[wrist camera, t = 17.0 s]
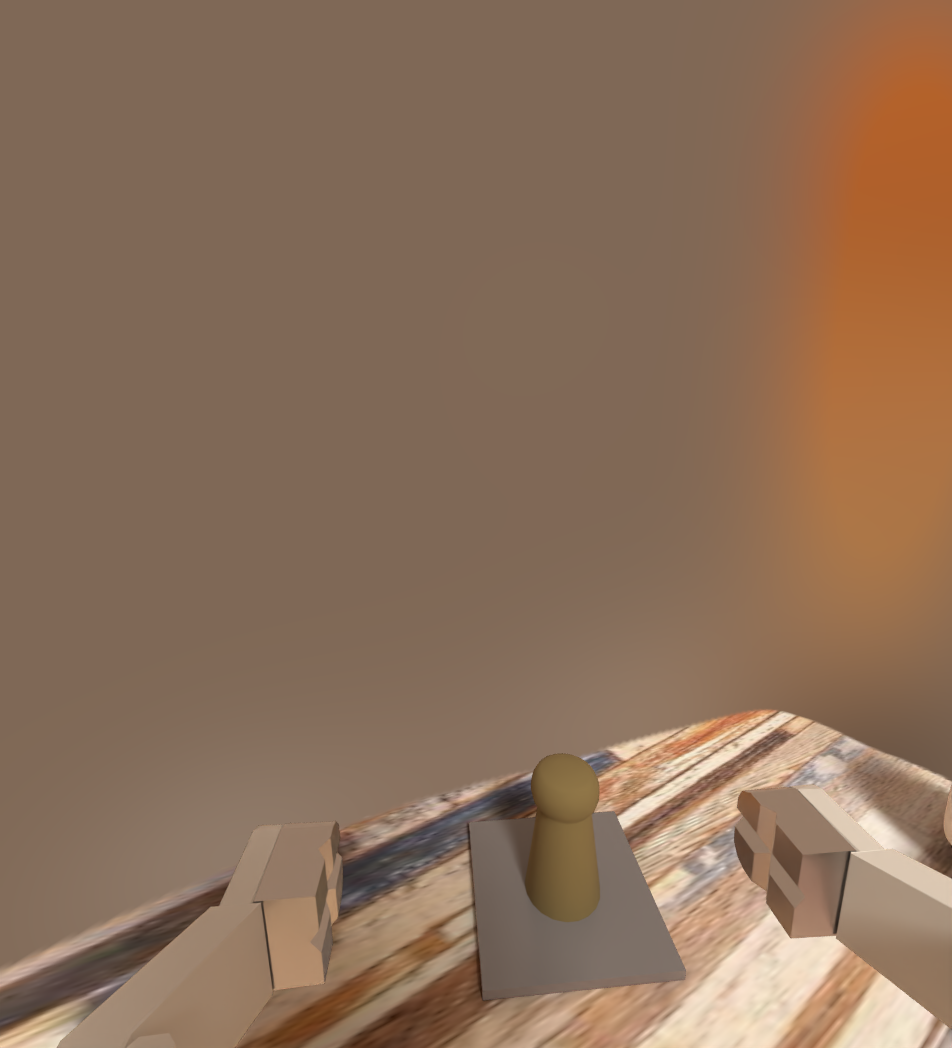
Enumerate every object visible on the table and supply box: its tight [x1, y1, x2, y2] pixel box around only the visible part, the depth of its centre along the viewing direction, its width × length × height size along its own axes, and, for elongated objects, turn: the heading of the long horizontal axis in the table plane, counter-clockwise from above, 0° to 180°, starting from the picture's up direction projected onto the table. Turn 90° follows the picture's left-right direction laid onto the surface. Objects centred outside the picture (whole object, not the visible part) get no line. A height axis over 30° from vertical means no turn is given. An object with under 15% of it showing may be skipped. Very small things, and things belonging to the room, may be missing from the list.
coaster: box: [469, 811, 686, 1000], centre depth 40 cm, size 14×14×1 cm
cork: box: [525, 753, 600, 922], centre depth 39 cm, size 6×6×11 cm
